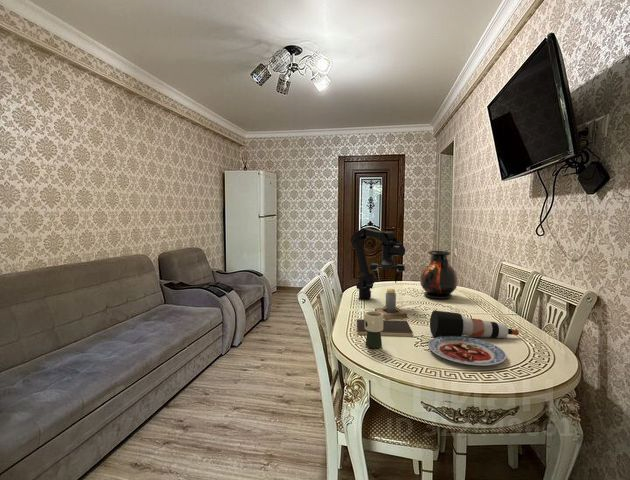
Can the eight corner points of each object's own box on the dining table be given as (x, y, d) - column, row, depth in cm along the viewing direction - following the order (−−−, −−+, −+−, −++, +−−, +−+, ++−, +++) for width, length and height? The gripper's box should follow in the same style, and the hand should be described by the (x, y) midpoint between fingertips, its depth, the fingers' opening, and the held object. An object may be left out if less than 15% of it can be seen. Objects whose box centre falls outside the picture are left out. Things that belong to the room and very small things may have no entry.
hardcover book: (412, 337, 139) (412, 332, 139) (357, 335, 142) (357, 330, 141) (406, 325, 155) (406, 320, 155) (356, 323, 157) (356, 318, 157)
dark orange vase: (414, 293, 213) (414, 250, 211) (446, 292, 216) (447, 249, 214) (429, 302, 192) (430, 254, 190) (464, 301, 194) (466, 253, 192)
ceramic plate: (468, 377, 105) (468, 368, 105) (413, 347, 128) (413, 339, 128) (523, 362, 115) (523, 354, 115) (463, 337, 139) (463, 330, 138)
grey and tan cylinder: (383, 315, 169) (384, 289, 167) (388, 312, 172) (388, 287, 171) (393, 316, 165) (393, 291, 164) (397, 314, 169) (397, 289, 168)
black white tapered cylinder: (517, 350, 135) (527, 333, 130) (433, 340, 137) (439, 322, 131) (507, 331, 144) (517, 314, 138) (428, 322, 145) (434, 305, 140)
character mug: (365, 340, 135) (365, 308, 134) (383, 341, 133) (383, 310, 132) (363, 351, 124) (363, 317, 123) (382, 352, 123) (383, 318, 122)
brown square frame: (374, 312, 173) (374, 308, 173) (395, 310, 176) (395, 306, 176) (384, 319, 162) (385, 315, 161) (407, 317, 165) (407, 313, 164)
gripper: (368, 255, 179) (368, 284, 180) (404, 256, 173) (404, 286, 175) (371, 253, 189) (370, 280, 190) (405, 254, 184) (404, 282, 185)
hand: (387, 282), depth 185 cm, fingers open, 9 cm apart
